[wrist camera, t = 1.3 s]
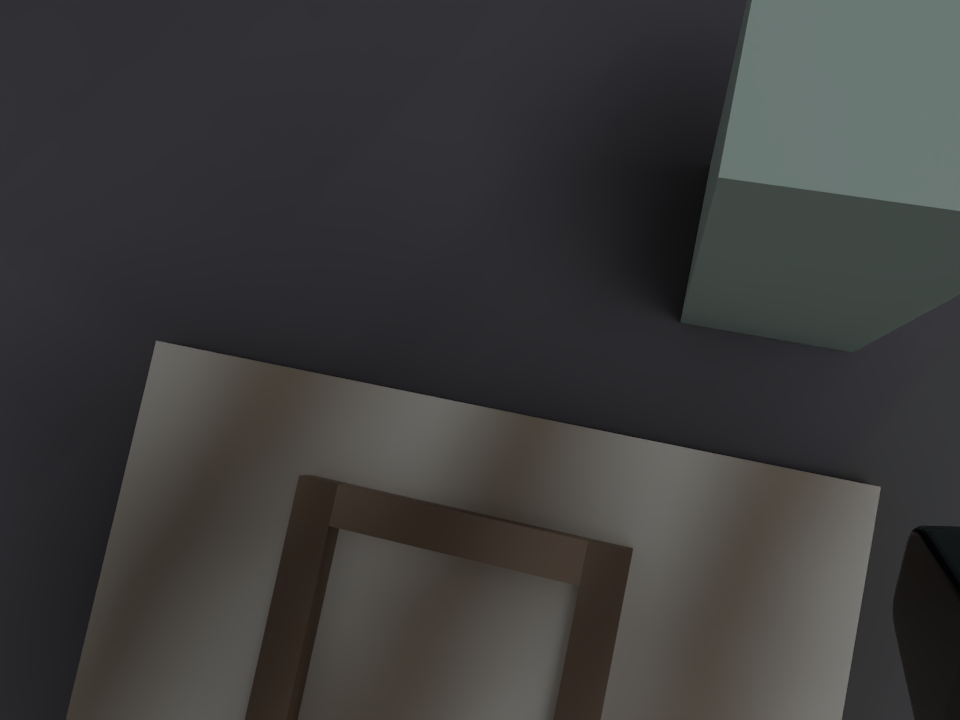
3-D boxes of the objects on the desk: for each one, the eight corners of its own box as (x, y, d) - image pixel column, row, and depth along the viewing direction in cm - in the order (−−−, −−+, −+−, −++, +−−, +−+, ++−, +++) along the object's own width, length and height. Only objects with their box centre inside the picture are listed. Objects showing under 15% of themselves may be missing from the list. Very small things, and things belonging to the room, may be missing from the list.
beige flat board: (871, 486, 20) (890, 488, 19) (771, 1076, 19) (783, 1130, 17) (172, 344, 24) (138, 336, 22) (56, 834, 23) (12, 861, 21)
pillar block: (880, 189, 21) (1133, -106, 10) (852, 352, 21) (1081, 227, 10) (710, 165, 22) (776, -131, 11) (680, 322, 21) (718, 178, 11)
